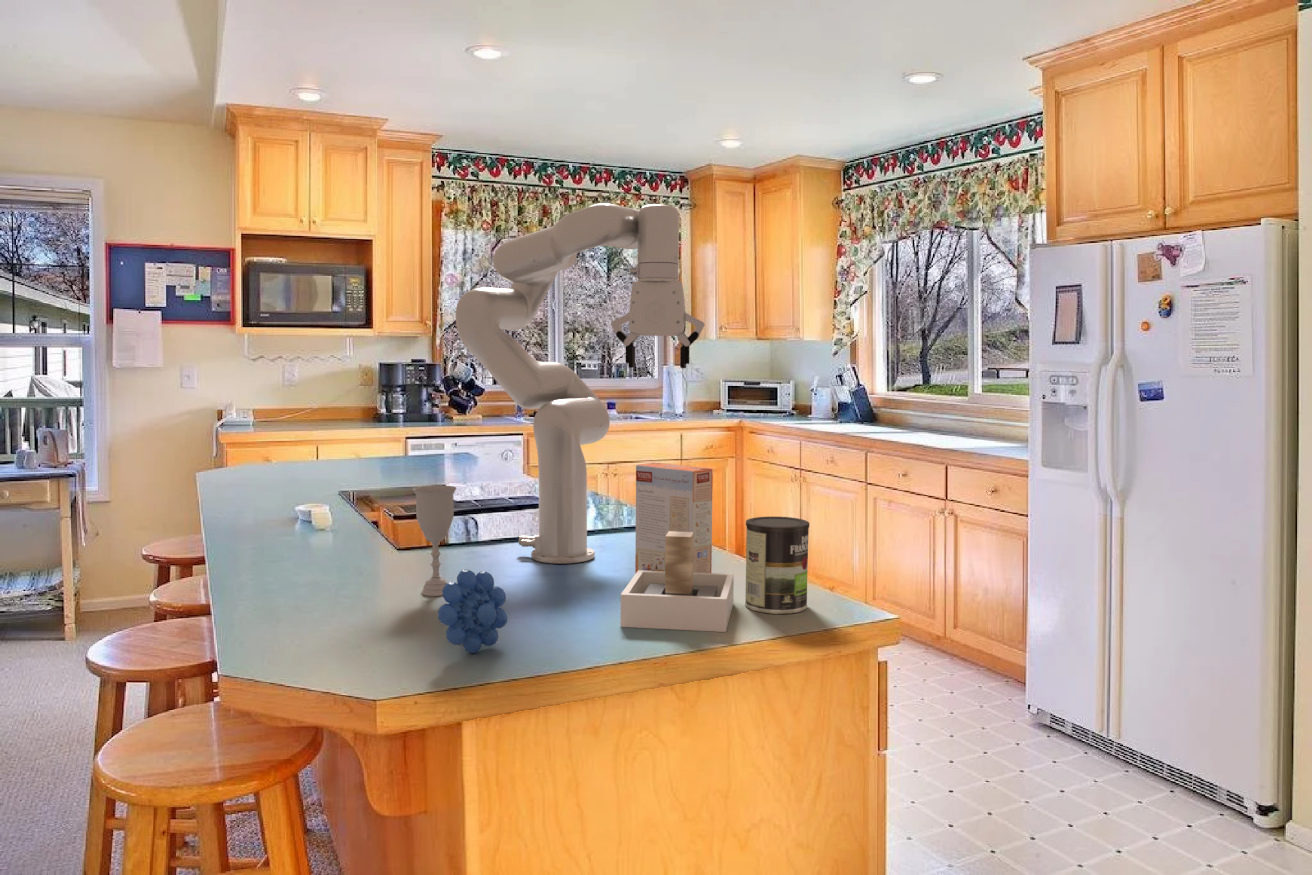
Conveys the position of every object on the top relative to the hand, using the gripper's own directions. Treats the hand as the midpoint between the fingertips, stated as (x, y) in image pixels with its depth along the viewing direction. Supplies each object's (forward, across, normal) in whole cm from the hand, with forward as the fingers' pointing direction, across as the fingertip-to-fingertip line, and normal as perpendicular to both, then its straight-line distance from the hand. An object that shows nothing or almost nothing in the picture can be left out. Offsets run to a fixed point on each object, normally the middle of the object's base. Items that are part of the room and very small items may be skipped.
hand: (657, 367), depth 181 cm
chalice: (+38, -35, -22) cm, 56 cm away
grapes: (+38, -17, -53) cm, 68 cm away
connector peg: (+37, +8, -29) cm, 48 cm away
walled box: (+38, +8, -29) cm, 49 cm away
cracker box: (+38, +4, -6) cm, 39 cm away
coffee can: (+38, +23, -21) cm, 50 cm away
